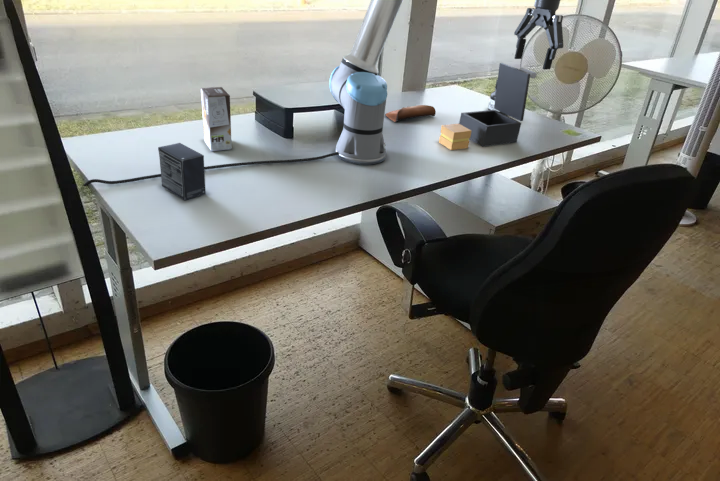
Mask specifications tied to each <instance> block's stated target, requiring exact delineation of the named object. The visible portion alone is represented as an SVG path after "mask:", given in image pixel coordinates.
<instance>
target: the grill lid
mask: <svg viewBox="0 0 720 481" xmlns="http://www.w3.org/2000/svg"><path fill="white" fill-rule="evenodd" d="M536 77H537V72H535V71H533V70H530V69H528V68H525V67H522V66H521V67H520V68H517V67H515V66H512V65H509V64H507V63H504V62H499V66H498V73H497V79H498V81H497V80H496V81H497V89H496V90H495V91H496V97H495V105H494V109H496V110H498V111H500V112H502V113H504V114H507V115H506V116H508V117H511V118H513V119H515V120H517V121H519V122H524V117H525V111H526V105H527V100H528V99H527V98H528V92H529V86H530V79H535V78H536Z"/></svg>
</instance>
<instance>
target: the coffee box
mask: <svg viewBox="0 0 720 481" xmlns="http://www.w3.org/2000/svg"><path fill="white" fill-rule="evenodd" d="M200 96H201V98H200V99H201V110H202V125H203V126H202V127H203V141H204V143H205V144H206V146H207V147H208V149H209V150H210V151H211V152H217V151H229V150H232V146H233V144H232V121H231V120H232V119H231V96H230V94H229V93H228V92H227V91H226V90H225V89H224V88H223V87H222V86H211V87H209V86H208V87H201V88H200Z"/></svg>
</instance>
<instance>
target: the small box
mask: <svg viewBox="0 0 720 481" xmlns="http://www.w3.org/2000/svg"><path fill="white" fill-rule="evenodd" d="M157 149H158V150H157V151H158V157H159V165H160V166H159V168H160V174H161V177H160V178H161V187H162V188H164V189H166V190H167V191H168V192H171V193H172V194H174V195H175V196H177V197H178V198H180V199H181V200H183V201H187V200H191V199H194V198H197V197H200V196H204V195H206V193H207V192H206V176H205V175H206V174H205V170H204V167H205V155H204V154H202V153H201V152H199V151H196V150H195V149H193V148H191V147H189V146H187V145H185V144H183V143H181V142H177V143H172V144H168V145H167V144H166V145H162V146H158V148H157Z"/></svg>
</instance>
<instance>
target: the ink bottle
mask: <svg viewBox="0 0 720 481" xmlns="http://www.w3.org/2000/svg"><path fill="white" fill-rule="evenodd" d="M497 81H498V78H497V79H496V81H495V86H494V91H492V92H491V93H490V95H489V99H488V100H489V101H488V105H487V110H496V109H494V105H495V97H496V89H497ZM496 111H498V110H496ZM498 112H500V111H498ZM500 113H502V112H500ZM502 114H504V113H502ZM504 115H506V116H508V115H507V114H504Z"/></svg>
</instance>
